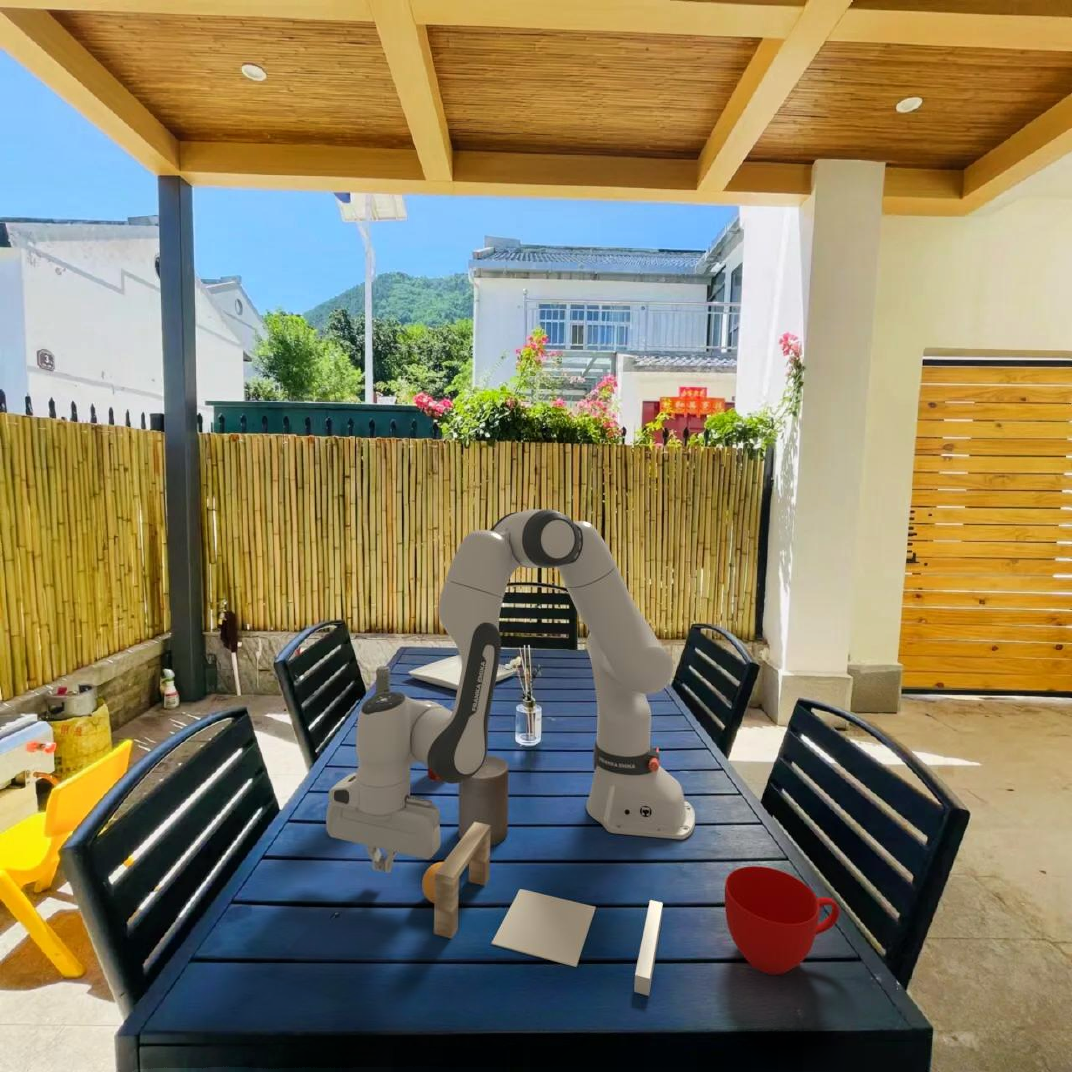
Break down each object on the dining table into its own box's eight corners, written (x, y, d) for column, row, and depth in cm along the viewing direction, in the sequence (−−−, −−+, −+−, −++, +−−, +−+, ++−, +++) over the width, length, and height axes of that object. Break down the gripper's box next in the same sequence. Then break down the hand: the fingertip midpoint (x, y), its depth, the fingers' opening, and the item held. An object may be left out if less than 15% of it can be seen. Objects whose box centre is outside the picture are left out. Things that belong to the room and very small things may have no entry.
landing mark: (595, 908, 101) (595, 906, 101) (576, 967, 88) (576, 965, 88) (520, 889, 105) (520, 888, 105) (491, 944, 92) (491, 942, 92)
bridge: (489, 878, 107) (490, 825, 107) (452, 938, 93) (453, 877, 92) (473, 874, 108) (474, 821, 107) (433, 933, 94) (435, 873, 93)
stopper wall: (661, 917, 99) (662, 902, 99) (649, 995, 84) (649, 978, 84) (649, 914, 100) (650, 899, 99) (634, 991, 84) (635, 974, 84)
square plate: (469, 699, 195) (469, 687, 195) (406, 682, 210) (406, 670, 209) (518, 678, 218) (518, 667, 217) (458, 663, 232) (458, 653, 232)
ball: (460, 853, 103) (430, 856, 105) (443, 873, 98) (411, 875, 100) (468, 889, 103) (437, 891, 105) (452, 911, 97) (419, 912, 99)
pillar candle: (504, 817, 127) (505, 747, 126) (510, 845, 117) (511, 769, 116) (456, 821, 125) (457, 749, 124) (459, 849, 116) (459, 772, 114)
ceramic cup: (860, 990, 86) (866, 922, 85) (742, 995, 85) (746, 926, 84) (811, 923, 99) (816, 864, 98) (708, 926, 97) (712, 866, 96)
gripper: (448, 793, 104) (446, 871, 105) (342, 772, 110) (342, 846, 111) (430, 812, 98) (429, 894, 99) (320, 789, 104) (320, 867, 105)
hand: (382, 869), depth 105 cm, fingers closed
